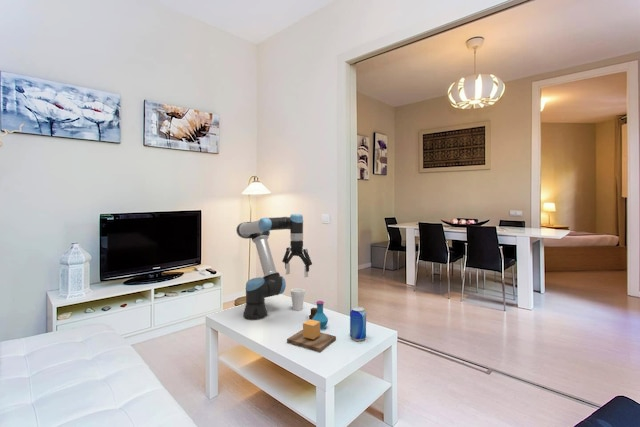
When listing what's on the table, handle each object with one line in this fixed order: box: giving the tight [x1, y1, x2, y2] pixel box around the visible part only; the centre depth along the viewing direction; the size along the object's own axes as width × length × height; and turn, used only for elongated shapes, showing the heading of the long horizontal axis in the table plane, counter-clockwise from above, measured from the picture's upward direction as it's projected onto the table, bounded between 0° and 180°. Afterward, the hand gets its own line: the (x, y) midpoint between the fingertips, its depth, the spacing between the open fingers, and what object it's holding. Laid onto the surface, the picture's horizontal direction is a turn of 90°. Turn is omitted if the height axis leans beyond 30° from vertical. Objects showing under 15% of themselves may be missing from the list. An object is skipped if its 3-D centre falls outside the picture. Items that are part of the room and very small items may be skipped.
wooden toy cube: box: [302, 319, 321, 340], centre depth 161 cm, size 6×6×7 cm
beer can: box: [349, 306, 367, 342], centre depth 165 cm, size 8×8×16 cm
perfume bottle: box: [312, 300, 329, 331], centre depth 179 cm, size 9×9×15 cm
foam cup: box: [290, 287, 306, 312], centre depth 210 cm, size 10×9×13 cm
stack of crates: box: [308, 307, 317, 320], centre depth 193 cm, size 15×15×7 cm
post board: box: [286, 329, 337, 353], centre depth 161 cm, size 20×16×9 cm
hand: (296, 275), depth 185 cm, fingers open, 13 cm apart
